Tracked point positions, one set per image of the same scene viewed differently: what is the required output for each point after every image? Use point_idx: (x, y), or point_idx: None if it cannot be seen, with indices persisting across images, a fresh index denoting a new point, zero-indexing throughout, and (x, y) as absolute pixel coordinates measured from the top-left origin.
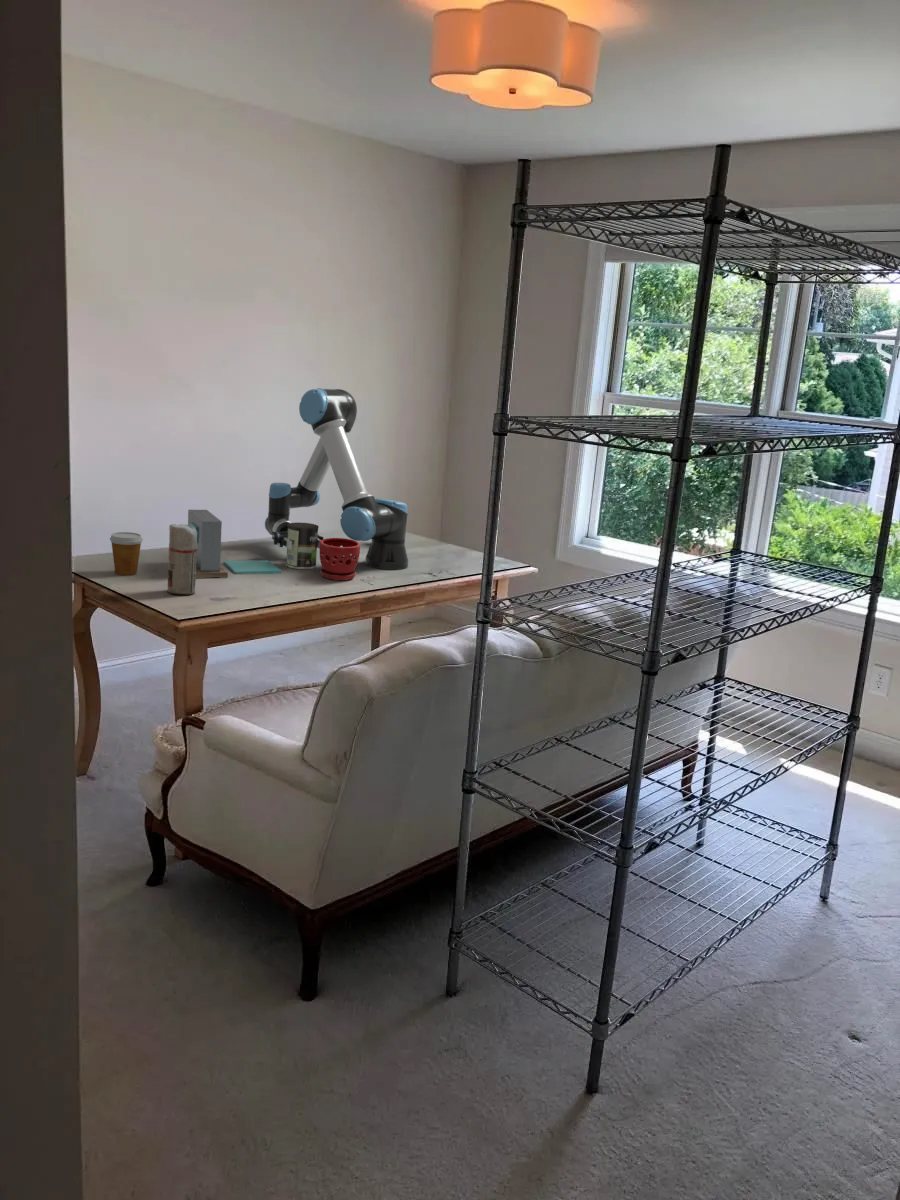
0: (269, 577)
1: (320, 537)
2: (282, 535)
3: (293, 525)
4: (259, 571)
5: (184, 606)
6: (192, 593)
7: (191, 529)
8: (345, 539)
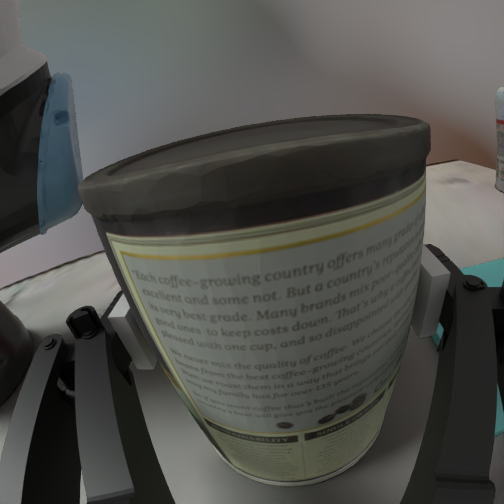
0: None
1: (62, 342)
2: (496, 376)
3: (358, 122)
4: (468, 268)
5: (477, 171)
6: (495, 184)
7: (500, 90)
8: None
